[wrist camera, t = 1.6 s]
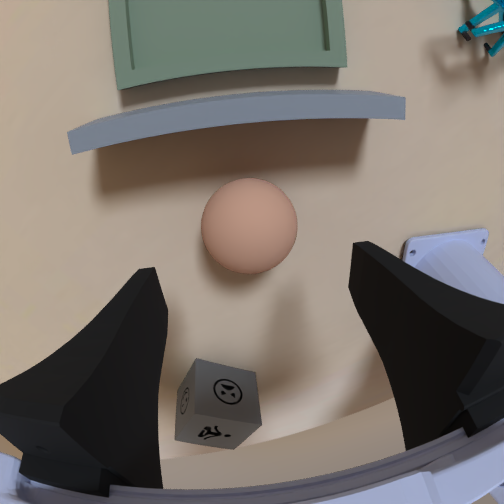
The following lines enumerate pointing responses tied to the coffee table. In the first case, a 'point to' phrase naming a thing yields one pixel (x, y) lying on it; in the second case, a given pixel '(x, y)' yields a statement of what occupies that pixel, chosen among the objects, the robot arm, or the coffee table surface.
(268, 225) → the rubber ball
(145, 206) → the coffee table surface
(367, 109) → the low wall
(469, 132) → the coffee table surface
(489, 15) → the stick construction toy
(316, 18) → the green tray
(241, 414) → the dice cube
